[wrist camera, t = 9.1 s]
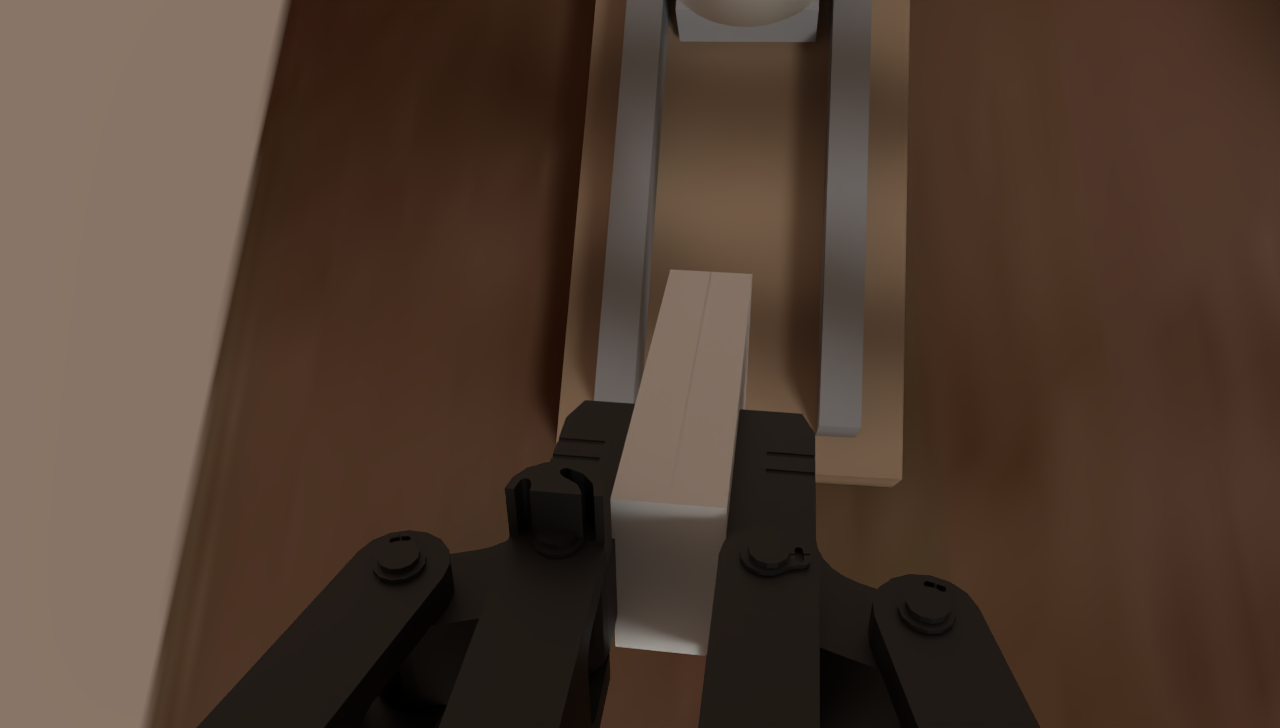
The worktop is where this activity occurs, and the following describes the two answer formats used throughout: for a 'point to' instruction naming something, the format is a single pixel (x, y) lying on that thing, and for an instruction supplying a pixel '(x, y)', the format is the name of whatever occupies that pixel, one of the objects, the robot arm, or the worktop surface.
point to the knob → (747, 20)
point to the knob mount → (752, 215)
